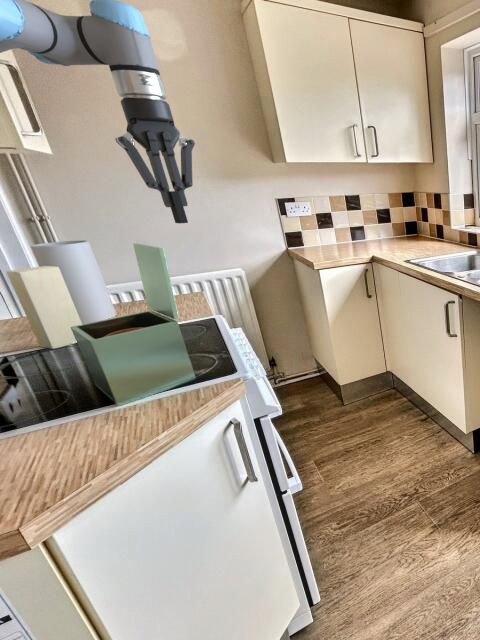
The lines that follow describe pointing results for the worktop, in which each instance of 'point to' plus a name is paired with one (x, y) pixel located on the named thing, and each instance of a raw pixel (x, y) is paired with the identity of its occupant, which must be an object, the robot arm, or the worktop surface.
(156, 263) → the box lid
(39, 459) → the worktop surface
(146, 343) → the green open box
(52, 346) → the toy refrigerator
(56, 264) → the cylinder vase
